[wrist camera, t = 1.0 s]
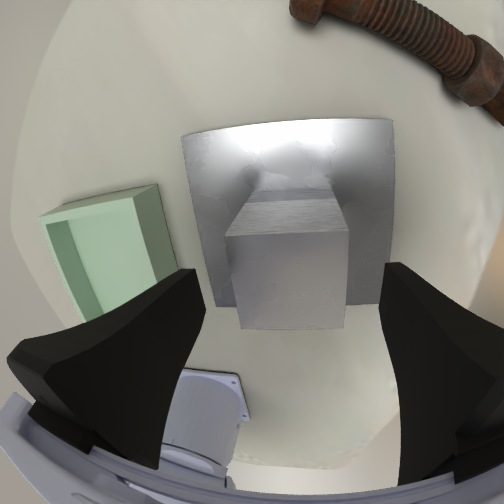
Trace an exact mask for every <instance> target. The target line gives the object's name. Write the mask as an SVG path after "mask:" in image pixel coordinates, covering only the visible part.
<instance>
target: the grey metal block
mask: <svg viewBox="0 0 504 504" xmlns="http://www.w3.org/2000/svg"><path fill="white" fill-rule="evenodd" d="M224 242H225V247H226V253H227V258H228V263H229V269H230V274H231V279H232V284H233V290H234V295H235V300H236V305H237V310H238V315H239V320H240V324H241V329H270V330H293V329H334V328H343V325H344V315H345V303H346V290H347V274H348V251H349V230H348V227H347V224H346V222H345V219H344V217H343V214H342V212H341V209H340V207H339V205H338V202H337V200H336V197H335V195H334V193H333V190H332V188H331V187H312V188H293V189H277V190H263V191H253V192H252V194H251V195H250V197H249V198H248V200H247V201H246V203H245V204H244V206H243V207H242V209H241V210H240V212H239V213H238V215H237V216H236V218H235V219H234V221H233V222H232V224H231V226H230V227H229V229H228V230H227V232H226V233H225V235H224Z"/></svg>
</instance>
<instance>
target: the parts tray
mask: <svg viewBox="0 0 504 504" xmlns="http://www.w3.org/2000/svg"><path fill="white" fill-rule="evenodd" d="M39 220H40V223H41V226H42V229H43V232H44V235H45V238H46V241H47V244H48V247H49V249H50V252H51V255H52V257H53V260H54V262H55V265H56V267H57V270H58V272H59V274H60V277H61V279H62V281H63V284H64V286H65V288H66V290H67V292H68V294H69V297H70V299H71V301H72V303H73V305H74V307H75V309H76V311H77V313H78V315H79V317H80V319H81V320H82V322H83V323H85V322H87V321H90V320H92V319H95V318H97V317H99V316H101V315H103V314H105V313H107V312H109V311H111V310H113V309H115V308H117V307H119V306H121V305H122V304H124V303H126V302H127V301H129V300H131V299H132V298H134V297H136V296H137V295H139V294H141V293H142V292H144V291H145V290H147V289H149V288H150V287H152V286H153V285H155V284H156V283H158V282H159V281H161V280H163V279H164V278H166V277H167V276H169V275H171V274H172V273H174V272H176V271H178V267H177V263H176V260H175V256H174V252H173V249H172V245H171V241H170V237H169V233H168V229H167V225H166V221H165V217H164V213H163V208H162V204H161V200H160V195H159V191H158V186H157V184H154V185H148V186H143V187H137V188H132V189H127V190H122V191H117V192H113V193H108V194H103V195H99V196H94V197H90V198H86V199H82V200H78V201H74V202H70V203H66V204H62V205H60V206H59V207H57V208H55V209H53V210H51V211H49V212H47V213H46V214H44V215H42V216H40V217H39Z"/></svg>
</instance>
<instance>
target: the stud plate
mask: <svg viewBox="0 0 504 504" xmlns="http://www.w3.org/2000/svg"><path fill="white" fill-rule="evenodd" d="M181 141H182V147H183V153H184V158H185V164H186V170H187V175H188V180H189V186H190V191H191V196H192V201H193V206H194V211H195V216H196V221H197V226H198V230H199V235H200V240H201V244H202V249H203V253H204V258H205V262H206V267H207V271H208V275H209V279H210V284H211V288H212V292H213V296H214V300H215V304H216V307H237V305H236V300H235V295H234V290H233V284H232V279H231V274H230V269H229V263H228V258H227V253H226V247H225V242H224V235H225V233H226V232H227V230H228V229H229V227H230V226H231V224H232V222H233V221H234V219H235V218H236V216H237V215H238V213H239V212H240V210H241V209H242V207H243V206H244V204H245V203H246V201H247V200H248V198H249V197H250V195H251V194H252V192H253V191H263V190H277V189H293V188H312V187H331V188H332V190H333V193H334V195H335V197H336V200H337V202H338V205H339V207H340V209H341V212H342V214H343V217H344V219H345V222H346V224H347V227H348V230H349V251H348V274H347V290H346V303H345V305H363V304H379V301H380V295H381V288H382V281H383V274H384V266H385V263H389V260H390V251H391V240H392V228H393V213H394V185H395V160H394V132H393V120H386V119H314V120H296V121H283V122H272V123H262V124H254V125H246V126H238V127H231V128H225V129H218V130H212V131H207V132H201V133H196V134H191V135H186V136H181Z"/></svg>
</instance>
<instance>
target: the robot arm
mask: <svg viewBox="0 0 504 504" xmlns="http://www.w3.org/2000/svg"><path fill="white" fill-rule="evenodd" d="M205 313H206V307H205V304H204V300H203V296H202V293H201V289H200V285H199V281H198V278H197V274H196V270H195V269H180V270H178V271H176V272H174V273H172V274H171V275H169V276H167V277H166V278H164V279H163V280H161V281H159V282H158V283H156V284H155V285H153V286H152V287H150V288H149V289H147V290H145V291H144V292H142V293H141V294H139V295H137V296H136V297H134V298H132V299H131V300H129V301H127V302H126V303H124V304H122V305H121V306H119V307H117V308H115V309H113V310H111V311H109V312H107V313H105V314H103V315H101V316H99V317H97V318H95V319H92V320H90V321H87V322H85V323H82V324H80V325H77V326H75V327H72V328H69V329H66V330H63V331H59V332H56V333H52V334H48V335H44V336H39V337H34V338H29V339H24V340H22V341H21V342H20V343H19V344H18V345H17V346H16V347H15V349H13V351H12V352H11V353H10V354H9V355H8V357H7V364H8V365H9V368H10V369H11V371H12V372H13V374H14V375H15V376H16V378H17V379H18V380H19V381H20V383H21V384H22V385H23V386H24V387H25V389H26V390H27V391H28V392H29V393H30V394H31V395H32V397H34V399H35V400H36V402H35V403H34V405H32V404H31V403H30V402H29V401H27V400H26V399H25V398H23V397H22V396H21V395H19V394H18V393H17V392H13V393H12V395H11V396H10V397H9V399H8V400H7V402H6V403H5V404H4V406H3V407H2V409H1V410H0V447H1V449H2V450H3V451H4V452H5V454H6V455H7V456H8V457H9V458H10V460H11V461H12V463H13V464H14V465H15V466H16V468H17V469H18V470H19V471H20V472H21V474H22V475H23V476H24V477H25V479H26V480H27V481H28V482H29V483H30V484H31V485H32V487H33V488H34V489H35V490H36V491H37V492H38V493H39V494H40V495H41V496H42V497H43V498H44V499H45V500H46V501H47V502H48V503H49V504H504V329H503V328H501V327H499V326H497V325H495V324H493V323H490V322H488V321H486V320H484V319H483V318H481V317H479V316H477V315H475V314H474V313H472V312H470V311H469V310H467V309H465V308H464V307H462V306H460V305H459V304H457V303H456V302H454V301H453V300H452V299H450V298H449V297H447V296H446V295H444V294H443V293H442V292H440V291H439V290H437V289H436V288H435V287H433V286H432V285H431V284H429V283H428V282H427V281H425V280H424V279H423V278H422V277H420V276H419V275H418V274H416V273H415V272H414V271H412V270H411V269H410V268H408V267H407V266H405V265H404V264H402V263H401V262H392V263H385V266H384V274H383V281H382V288H381V295H380V301H379V313H380V320H381V325H382V330H383V334H384V337H385V341H386V344H387V348H388V351H389V355H390V358H391V362H392V365H393V369H394V373H395V377H396V382H397V387H398V396H399V406H400V421H401V454H400V455H401V456H400V468H399V478H398V485H397V486H396V487H391V488H385V489H379V490H373V491H365V492H356V493H345V494H329V495H287V494H269V493H260V492H251V491H243V490H236V487H235V484H234V482H233V480H232V478H231V477H230V476H226V473H227V470H228V468H226V467H227V466H228V464H229V463H230V461H231V460H232V457H233V453H234V449H235V445H236V441H237V437H238V433H239V429H240V424H241V421H249V420H250V416H249V412H248V409H247V405H246V402H245V398H244V395H243V391H242V388H241V384H240V381H239V377H238V376H237V375H235V374H226V373H215V372H206V371H197V370H189V369H183V368H184V366H185V363H186V361H187V359H188V357H189V355H190V353H191V350H192V348H193V346H194V344H195V342H196V339H197V337H198V335H199V333H200V330H201V327H202V324H203V320H204V316H205Z"/></svg>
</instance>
